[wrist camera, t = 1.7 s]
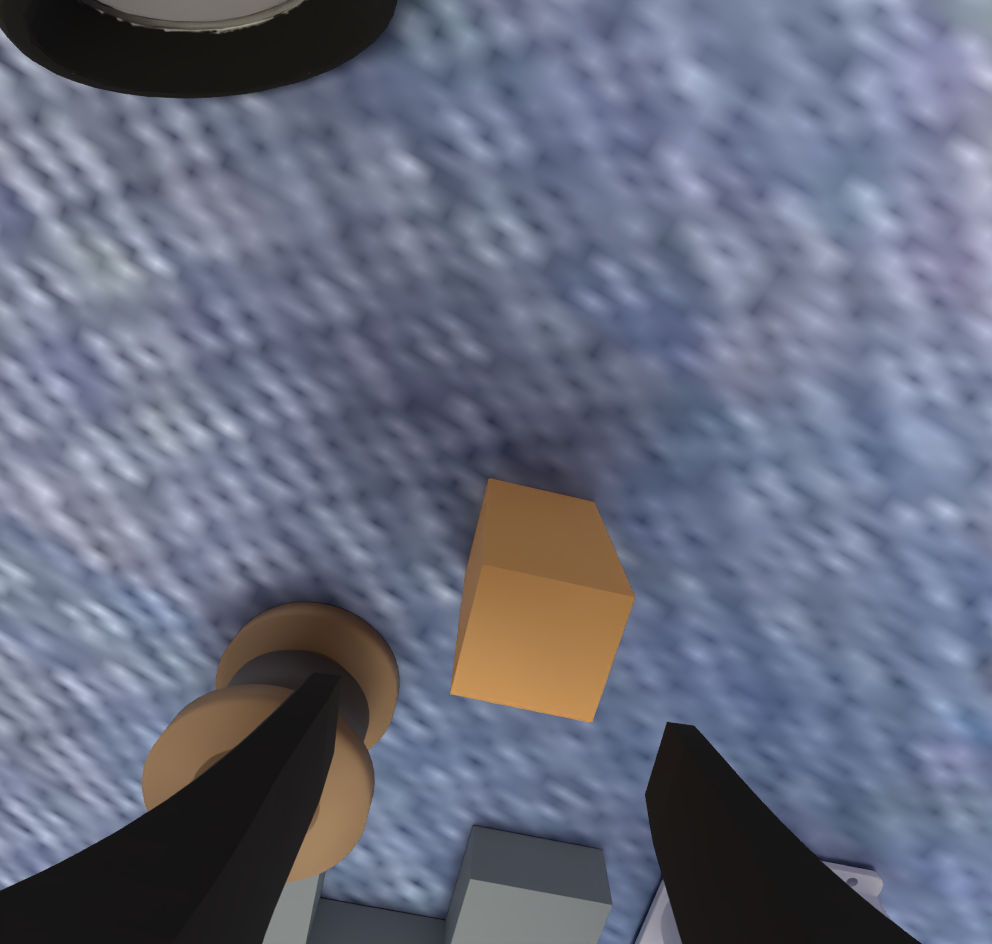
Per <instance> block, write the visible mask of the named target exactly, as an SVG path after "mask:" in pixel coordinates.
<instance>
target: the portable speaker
mask: <svg viewBox="0 0 992 944" xmlns="http://www.w3.org/2000/svg"><path fill="white" fill-rule="evenodd" d="M396 3H397V0H0V28H1V29H2V31H3V32H4V33H5V35H6V36H7V37H8V38H9V39H10V40H11V42H12V43H13V44H14V45H15V46H16V47H17V48H18V49H19V50H20V51H21V52H22V53H23V54H24V55H26V56H27V57H28V58H30V59H31V60H32V61H34V62H36V63H38V64H39V65H41V66H43V67H45V68H46V69H48V70H50V71H52V72H53V73H55V74H57V75H60V76H62V77H65V78H67V79H70V80H72V81H75V82H78V83H81V84H85V85H88V86H91V87H94V88H99V89H103V90H108V91H113V92H118V93H123V94H131V95H138V96H146V97H165V98H210V97H220V96H231V95H241V94H248V93H254V92H259V91H264V90H268V89H272V88H276V87H280V86H284V85H289V84H293V83H297V82H300V81H303V80H305V79H308V78H311V77H313V76H316V75H319V74H321V73H324V72H327V71H329V70H331V69H333V68H335V67H337V66H339V65H341V64H343V63H344V62H346V61H348V60H350V59H352V58H354V57H355V56H356V55H358V54H359V53H360V52H362V51H363V50H365V49H366V48H367V47H369V46H370V45H371V44H373V42H374V41H375V40H376V39H377V38H378V37H379V36H380V34H381V33H382V32H383V31H384V30H385V29H386V27H387V26H388V24H389V22H390V20H391V18H392V17H393V14H394V11H395V7H396Z"/></svg>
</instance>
